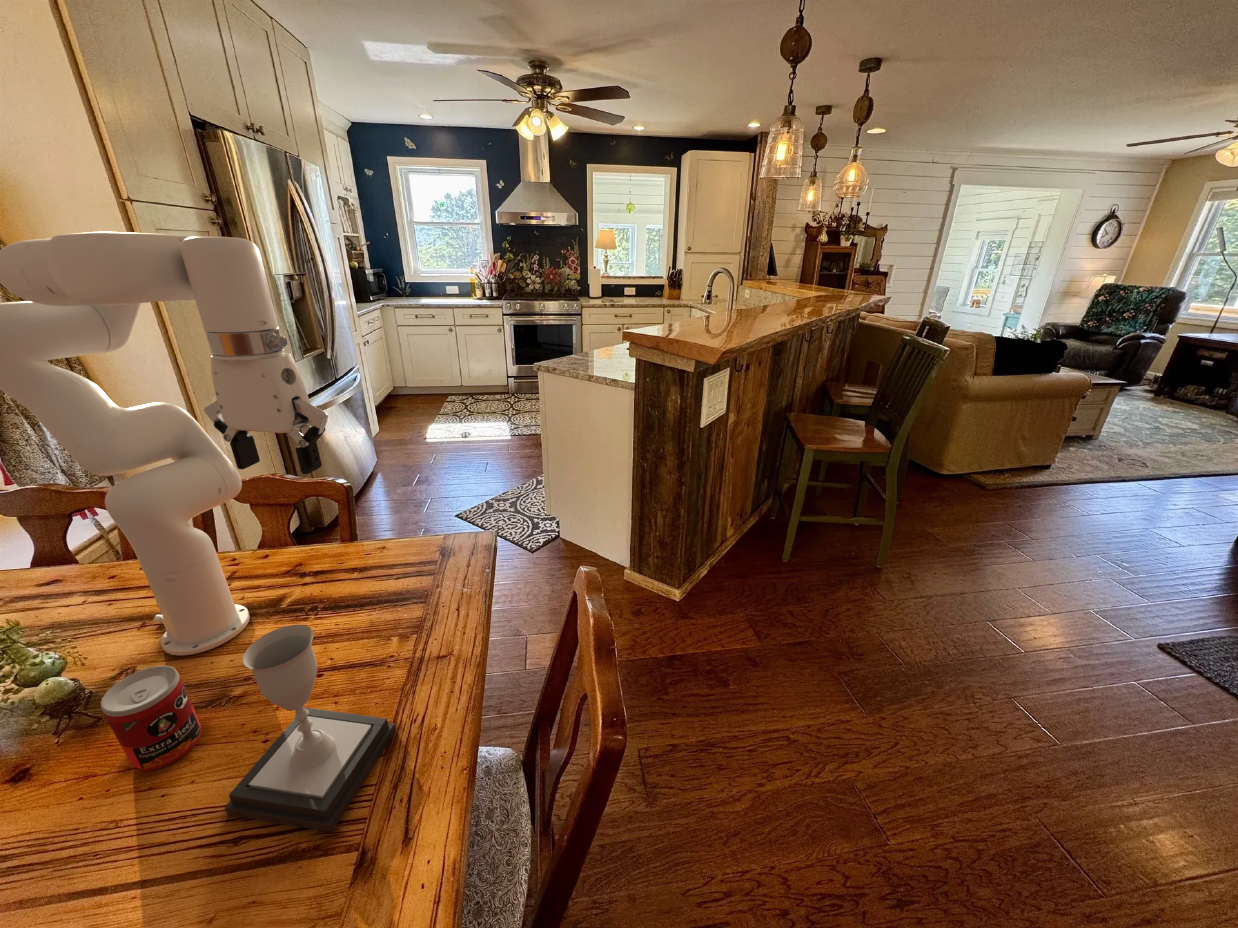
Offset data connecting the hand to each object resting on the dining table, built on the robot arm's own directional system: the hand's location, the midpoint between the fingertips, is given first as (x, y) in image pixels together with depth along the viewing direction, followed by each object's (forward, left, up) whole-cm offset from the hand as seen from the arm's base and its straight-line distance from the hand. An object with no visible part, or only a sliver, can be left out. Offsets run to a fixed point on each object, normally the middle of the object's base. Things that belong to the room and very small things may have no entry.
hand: (280, 468), depth 69 cm
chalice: (+10, -17, -33) cm, 39 cm away
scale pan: (+10, -17, -35) cm, 40 cm away
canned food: (-13, -17, -36) cm, 42 cm away
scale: (+10, -17, -36) cm, 41 cm away
